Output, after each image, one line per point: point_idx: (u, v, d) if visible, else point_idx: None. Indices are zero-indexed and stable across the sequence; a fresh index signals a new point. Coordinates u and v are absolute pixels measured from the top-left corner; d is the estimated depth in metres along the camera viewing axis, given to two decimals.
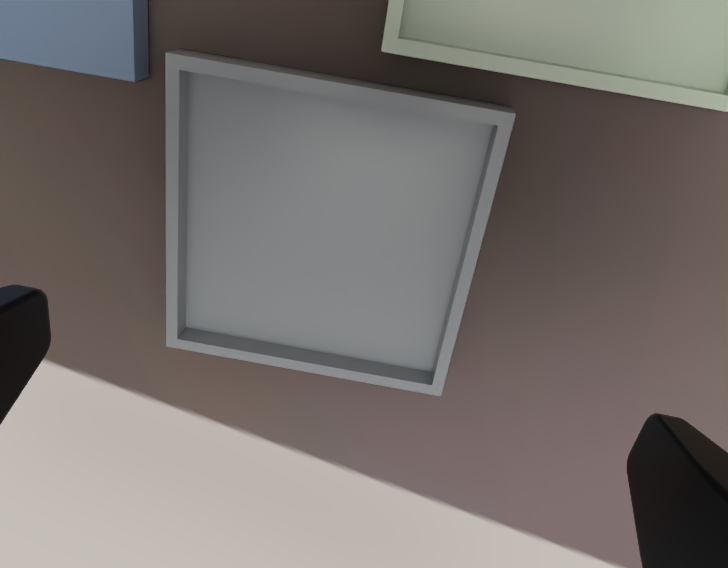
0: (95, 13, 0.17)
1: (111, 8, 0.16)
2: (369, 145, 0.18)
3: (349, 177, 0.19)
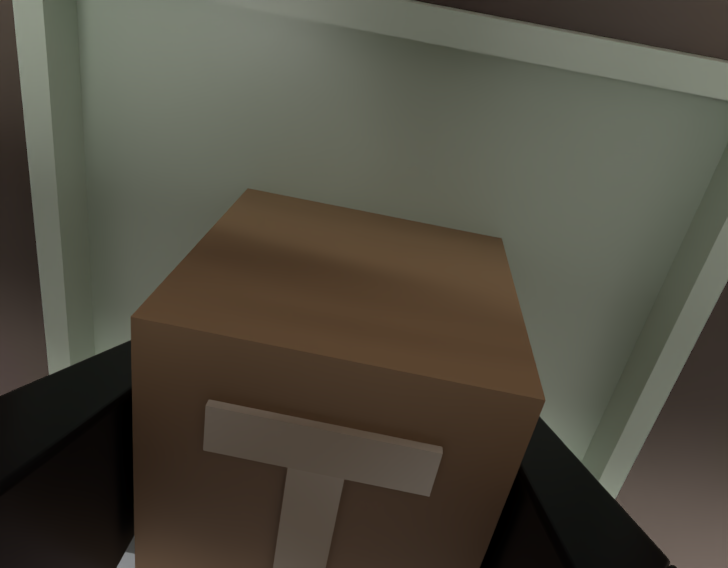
0: None
1: None
2: None
3: None
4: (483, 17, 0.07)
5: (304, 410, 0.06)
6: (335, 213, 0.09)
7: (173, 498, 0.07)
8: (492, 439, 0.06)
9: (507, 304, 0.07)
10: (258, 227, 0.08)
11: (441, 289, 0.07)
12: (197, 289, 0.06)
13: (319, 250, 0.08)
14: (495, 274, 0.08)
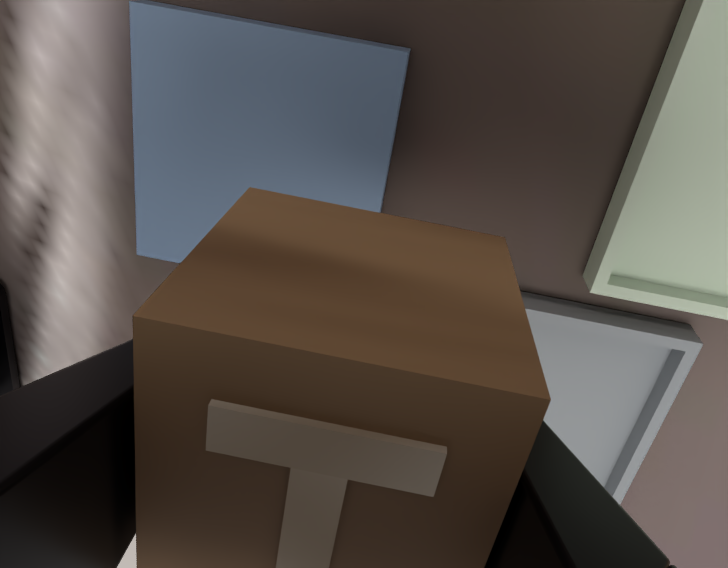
0: None
1: None
2: (559, 350, 0.21)
3: None
4: None
5: (307, 409, 0.06)
6: (337, 212, 0.09)
7: (175, 498, 0.07)
8: (497, 439, 0.06)
9: (511, 303, 0.07)
10: (260, 226, 0.08)
11: (445, 288, 0.07)
12: (199, 288, 0.06)
13: (321, 249, 0.08)
14: (499, 273, 0.08)
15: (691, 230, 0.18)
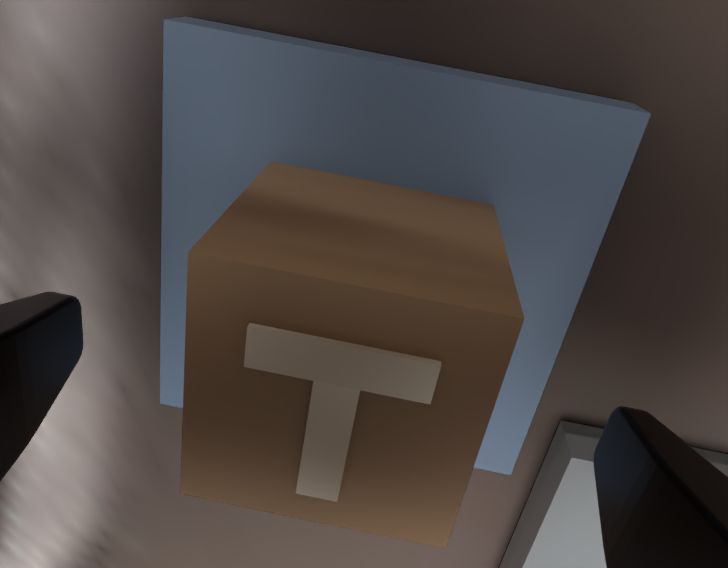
0: None
1: (507, 403, 0.12)
2: None
3: None
4: None
5: (327, 331, 0.07)
6: (348, 182, 0.10)
7: (216, 412, 0.08)
8: (481, 354, 0.07)
9: (496, 253, 0.08)
10: (283, 191, 0.09)
11: (441, 240, 0.09)
12: (237, 235, 0.08)
13: (336, 209, 0.09)
14: (488, 231, 0.09)
15: None
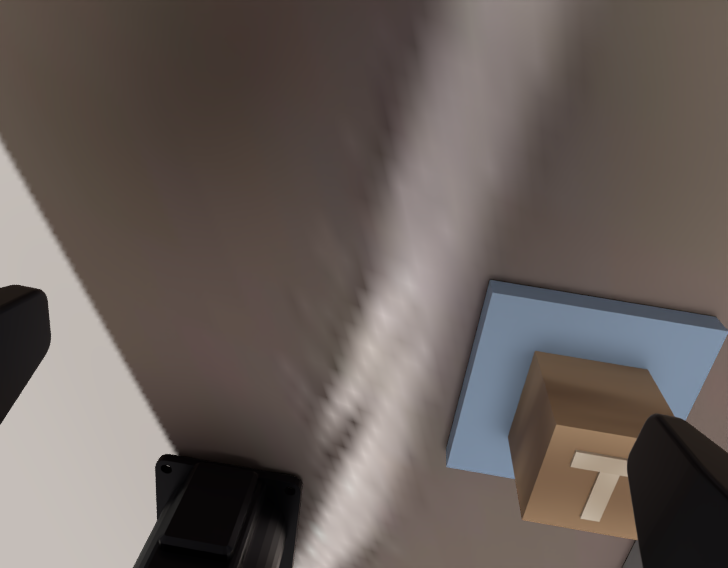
0: None
1: None
2: None
3: None
4: None
5: (608, 452, 0.18)
6: (577, 362, 0.21)
7: (550, 484, 0.18)
8: None
9: (665, 407, 0.19)
10: (557, 375, 0.20)
11: (639, 402, 0.19)
12: (564, 411, 0.18)
13: (586, 386, 0.19)
14: (655, 392, 0.20)
15: None
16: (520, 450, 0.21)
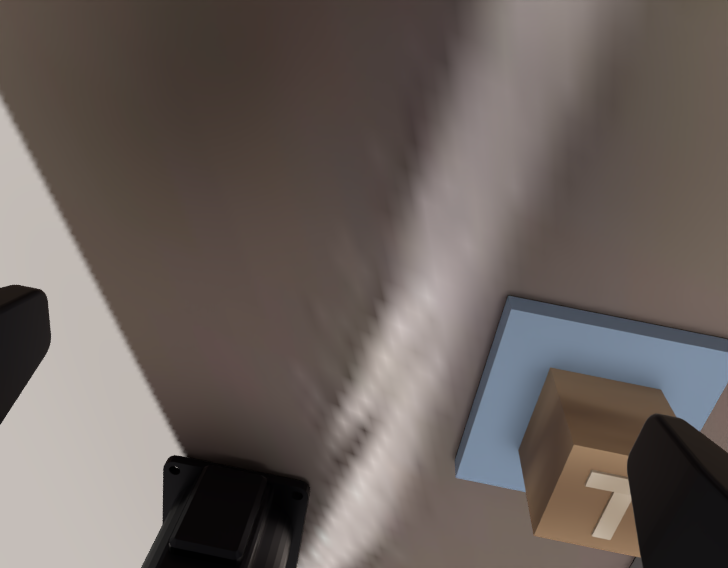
0: None
1: None
2: None
3: None
4: None
5: (623, 473, 0.18)
6: (592, 380, 0.21)
7: (564, 502, 0.19)
8: None
9: None
10: (573, 394, 0.20)
11: None
12: (581, 431, 0.18)
13: (602, 405, 0.20)
14: (668, 413, 0.20)
15: None
16: (532, 465, 0.21)
